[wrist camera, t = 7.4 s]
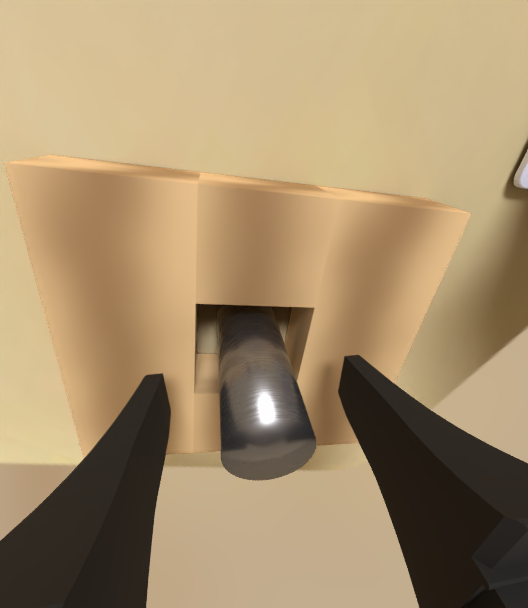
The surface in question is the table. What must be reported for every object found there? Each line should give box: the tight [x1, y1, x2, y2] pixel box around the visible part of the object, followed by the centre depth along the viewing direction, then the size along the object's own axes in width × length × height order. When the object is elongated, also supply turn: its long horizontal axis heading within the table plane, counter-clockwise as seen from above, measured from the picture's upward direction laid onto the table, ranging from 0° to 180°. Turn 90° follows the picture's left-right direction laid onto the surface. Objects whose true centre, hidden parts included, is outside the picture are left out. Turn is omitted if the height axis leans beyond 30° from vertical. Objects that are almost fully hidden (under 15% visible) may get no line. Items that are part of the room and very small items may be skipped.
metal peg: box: [217, 304, 316, 480], centre depth 13 cm, size 3×3×8 cm
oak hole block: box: [4, 155, 471, 458], centre depth 15 cm, size 16×14×3 cm
